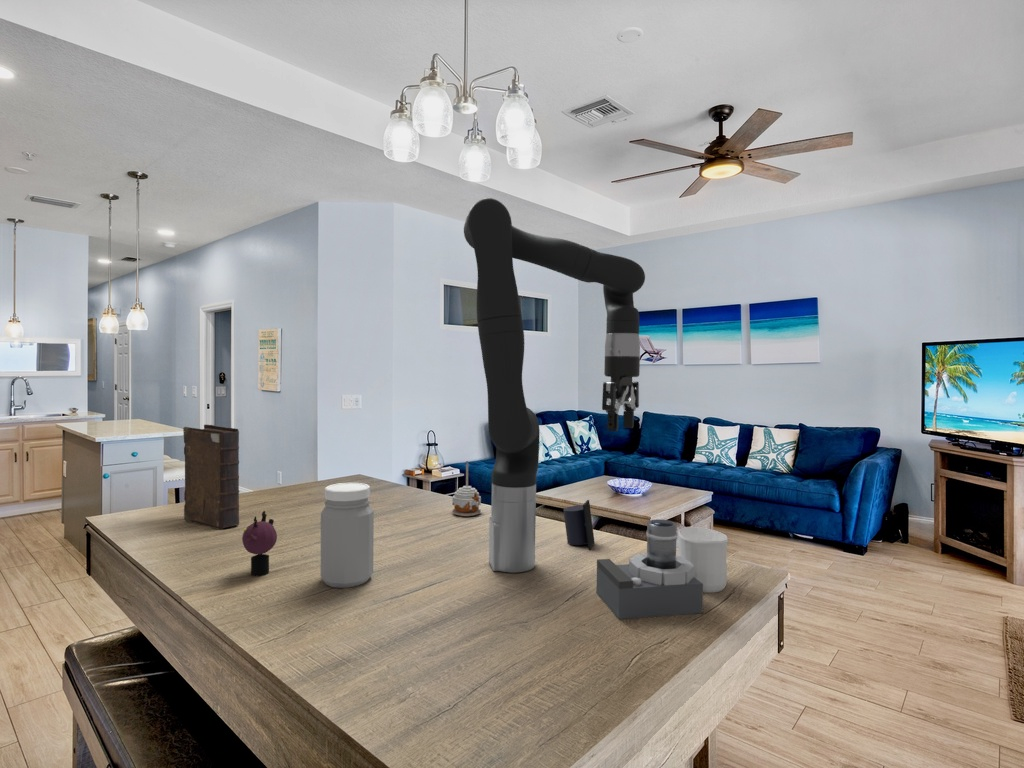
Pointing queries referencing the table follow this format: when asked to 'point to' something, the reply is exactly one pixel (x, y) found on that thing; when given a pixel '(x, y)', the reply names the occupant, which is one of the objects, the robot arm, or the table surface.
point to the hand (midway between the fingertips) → (620, 429)
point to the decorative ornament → (466, 500)
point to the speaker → (579, 525)
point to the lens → (661, 544)
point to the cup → (705, 555)
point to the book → (211, 476)
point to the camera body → (648, 588)
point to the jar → (347, 535)
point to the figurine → (259, 544)
